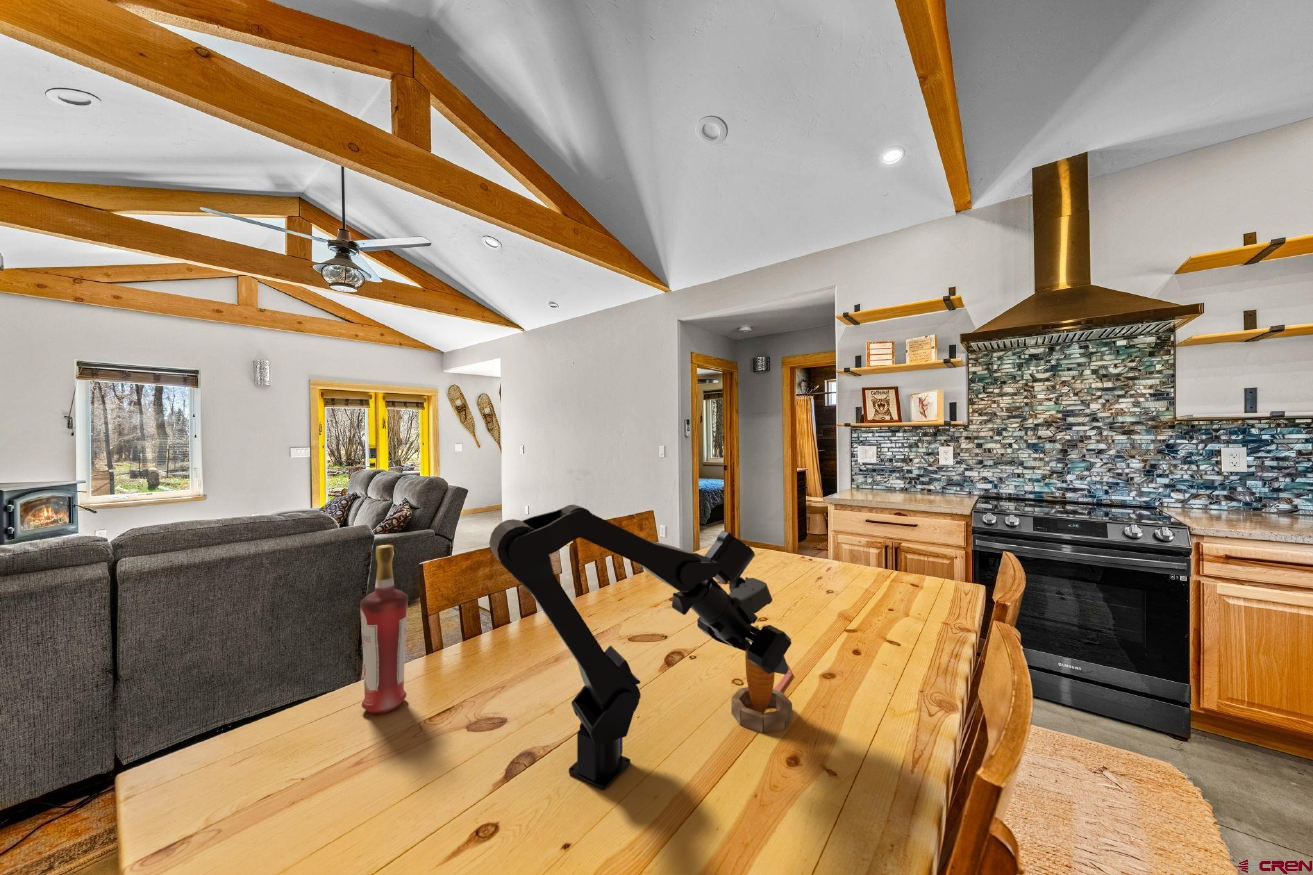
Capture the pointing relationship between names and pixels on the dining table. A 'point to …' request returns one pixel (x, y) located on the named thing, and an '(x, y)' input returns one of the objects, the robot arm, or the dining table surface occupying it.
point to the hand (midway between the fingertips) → (767, 660)
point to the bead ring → (762, 720)
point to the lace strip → (784, 681)
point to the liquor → (384, 639)
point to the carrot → (759, 685)
